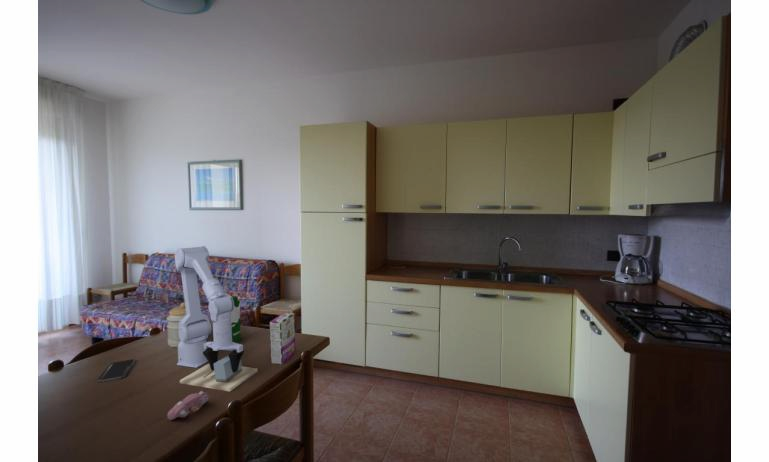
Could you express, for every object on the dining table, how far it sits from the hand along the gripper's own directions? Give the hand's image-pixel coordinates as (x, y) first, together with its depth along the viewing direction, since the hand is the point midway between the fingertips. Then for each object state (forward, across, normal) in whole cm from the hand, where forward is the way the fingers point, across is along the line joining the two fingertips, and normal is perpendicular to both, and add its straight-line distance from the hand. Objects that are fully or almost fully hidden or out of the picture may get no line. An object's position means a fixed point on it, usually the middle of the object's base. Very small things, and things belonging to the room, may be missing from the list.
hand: (224, 370), depth 116 cm
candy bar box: (+3, +11, +19) cm, 22 cm away
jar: (+2, -40, +22) cm, 46 cm away
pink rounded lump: (+3, +5, -20) cm, 21 cm away
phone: (+2, -41, -6) cm, 41 cm away
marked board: (+3, -2, 0) cm, 3 cm away
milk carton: (+2, -21, +27) cm, 34 cm away
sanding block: (+1, +2, -1) cm, 3 cm away
